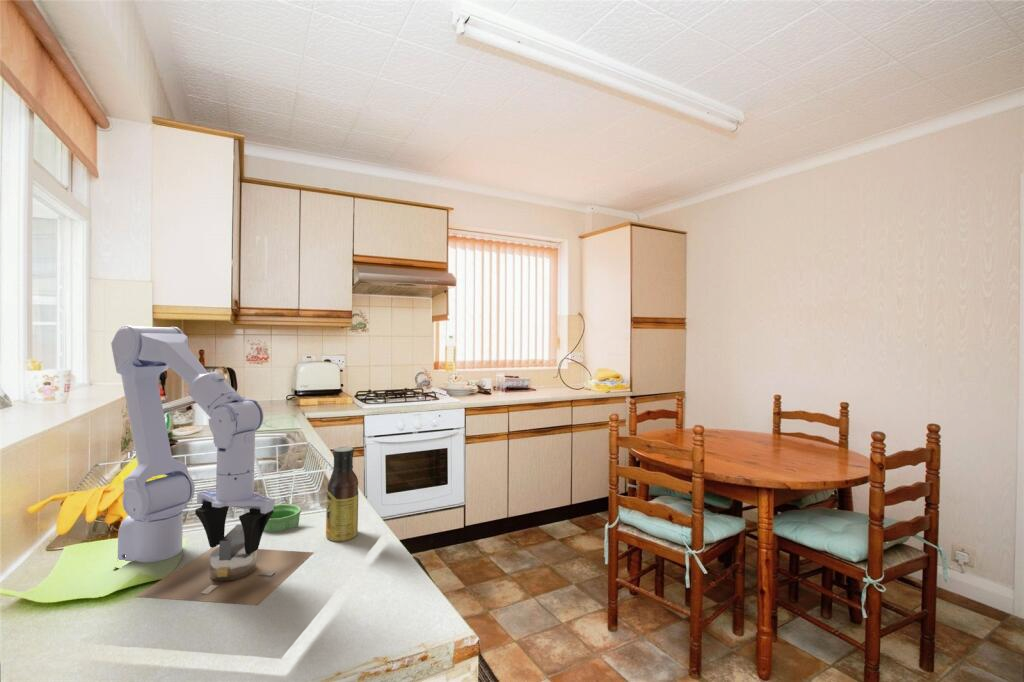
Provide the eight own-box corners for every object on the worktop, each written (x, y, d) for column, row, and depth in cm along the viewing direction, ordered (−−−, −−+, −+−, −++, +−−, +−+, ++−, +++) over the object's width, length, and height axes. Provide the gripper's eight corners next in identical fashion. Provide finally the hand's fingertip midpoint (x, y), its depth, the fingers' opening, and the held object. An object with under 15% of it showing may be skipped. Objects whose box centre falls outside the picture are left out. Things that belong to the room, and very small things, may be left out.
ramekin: (304, 534, 104) (304, 514, 103) (257, 543, 99) (257, 522, 98) (296, 520, 111) (297, 501, 111) (252, 528, 106) (253, 508, 106)
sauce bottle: (330, 536, 103) (332, 444, 102) (360, 536, 103) (362, 444, 103) (321, 550, 96) (323, 451, 96) (353, 549, 97) (355, 451, 96)
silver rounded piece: (221, 561, 86) (221, 524, 86) (262, 560, 87) (263, 523, 87) (198, 584, 79) (199, 544, 78) (244, 582, 80) (245, 542, 79)
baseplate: (135, 605, 75) (135, 595, 75) (214, 553, 93) (214, 545, 93) (257, 614, 74) (257, 603, 74) (313, 560, 92) (313, 551, 92)
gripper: (181, 472, 81) (180, 551, 81) (251, 481, 77) (249, 565, 78) (217, 462, 88) (215, 535, 88) (283, 470, 84) (281, 546, 84)
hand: (234, 548), depth 83 cm, fingers open, 7 cm apart
